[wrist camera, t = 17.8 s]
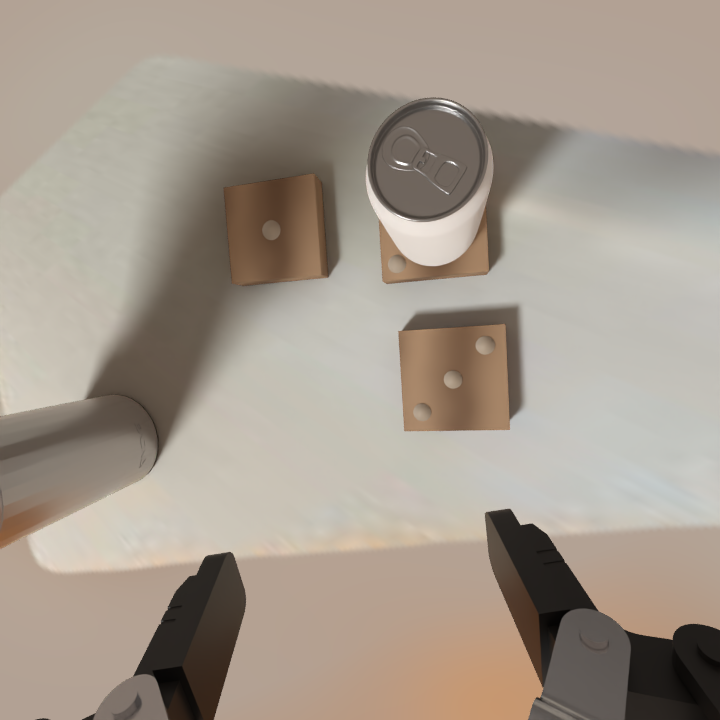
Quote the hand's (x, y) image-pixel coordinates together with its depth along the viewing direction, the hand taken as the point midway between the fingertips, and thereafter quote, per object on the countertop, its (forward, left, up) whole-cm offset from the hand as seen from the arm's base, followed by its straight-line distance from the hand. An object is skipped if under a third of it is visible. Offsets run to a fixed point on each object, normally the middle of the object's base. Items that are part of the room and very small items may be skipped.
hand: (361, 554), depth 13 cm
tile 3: (+3, +3, -22) cm, 22 cm away
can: (+2, +15, -20) cm, 25 cm away
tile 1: (-11, +16, -22) cm, 29 cm away
